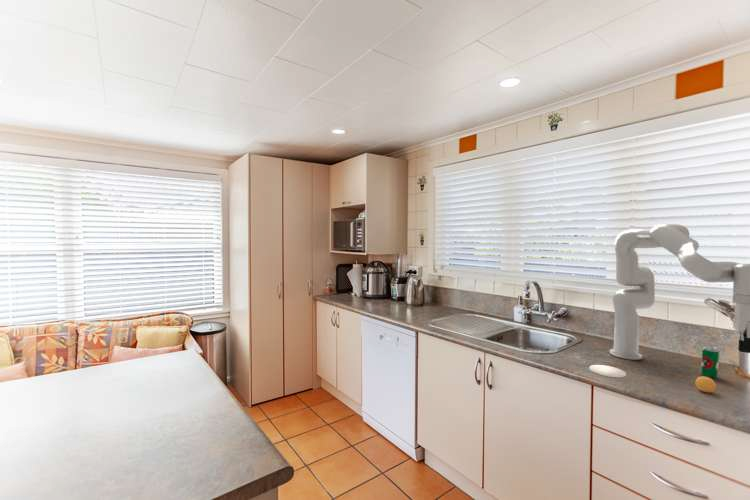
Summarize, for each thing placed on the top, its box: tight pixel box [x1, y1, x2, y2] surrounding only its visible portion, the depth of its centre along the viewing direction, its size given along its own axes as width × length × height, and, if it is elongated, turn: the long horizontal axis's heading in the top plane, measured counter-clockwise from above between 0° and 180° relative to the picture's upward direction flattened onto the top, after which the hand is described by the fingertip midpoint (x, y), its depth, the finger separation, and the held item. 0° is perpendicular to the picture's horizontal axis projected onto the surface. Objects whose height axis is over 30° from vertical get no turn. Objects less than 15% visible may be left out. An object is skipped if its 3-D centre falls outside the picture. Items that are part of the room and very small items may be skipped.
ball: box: [695, 375, 717, 393], centre depth 127 cm, size 6×6×6 cm
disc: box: [588, 364, 627, 379], centre depth 145 cm, size 13×13×1 cm
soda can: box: [700, 345, 720, 379], centre depth 140 cm, size 5×5×12 cm
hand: (745, 351), depth 120 cm, fingers closed
